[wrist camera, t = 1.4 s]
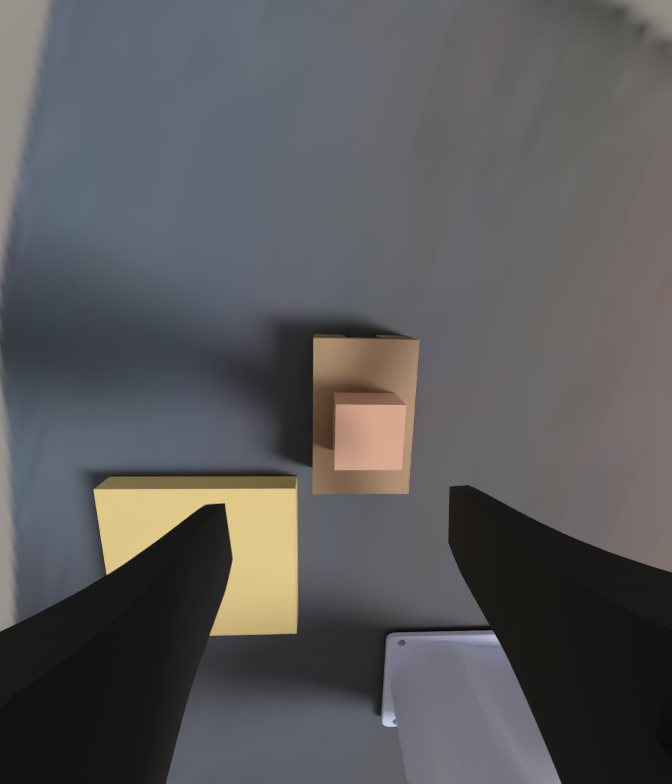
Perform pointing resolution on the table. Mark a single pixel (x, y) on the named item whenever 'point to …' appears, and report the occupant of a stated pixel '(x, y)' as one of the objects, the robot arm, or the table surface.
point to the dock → (246, 529)
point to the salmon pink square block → (368, 431)
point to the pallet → (360, 375)
